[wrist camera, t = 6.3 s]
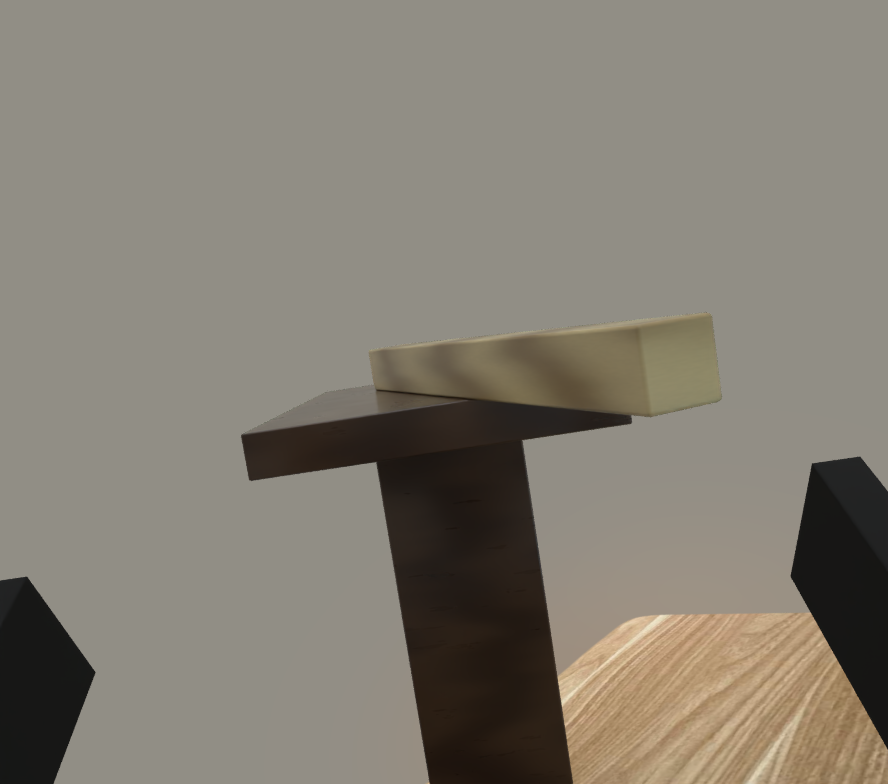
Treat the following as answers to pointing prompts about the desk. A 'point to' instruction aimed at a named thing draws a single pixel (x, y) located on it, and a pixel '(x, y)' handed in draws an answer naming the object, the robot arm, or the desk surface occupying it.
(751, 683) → the desk surface
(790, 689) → the desk surface
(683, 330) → the wooden stick
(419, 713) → the stand
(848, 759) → the desk surface
